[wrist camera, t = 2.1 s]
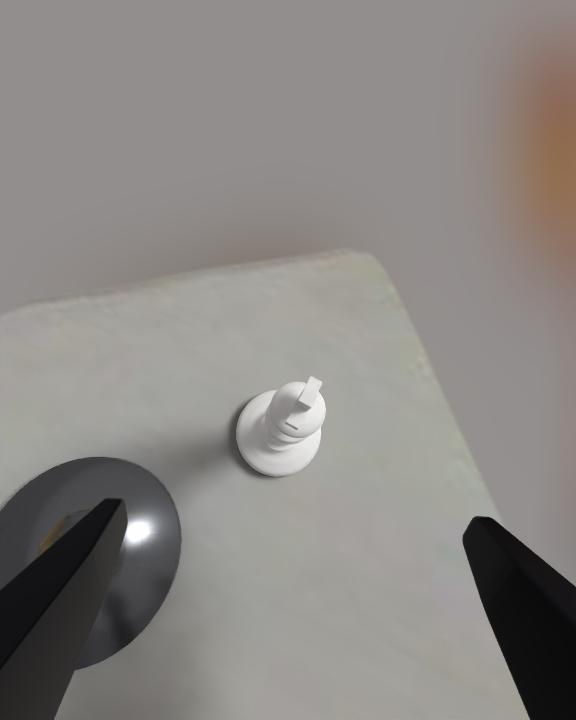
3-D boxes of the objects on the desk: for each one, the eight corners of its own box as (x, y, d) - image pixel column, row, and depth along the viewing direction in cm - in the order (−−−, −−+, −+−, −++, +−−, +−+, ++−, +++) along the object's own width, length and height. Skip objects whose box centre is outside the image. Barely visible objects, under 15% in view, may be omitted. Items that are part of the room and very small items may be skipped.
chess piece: (219, 448, 18) (189, 429, 9) (263, 376, 20) (276, 296, 11) (295, 493, 18) (346, 521, 9) (333, 416, 20) (411, 369, 10)
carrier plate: (181, 645, 15) (178, 651, 15) (-33, 682, 14) (-44, 691, 14) (181, 449, 18) (179, 449, 18) (2, 466, 17) (-7, 466, 16)
